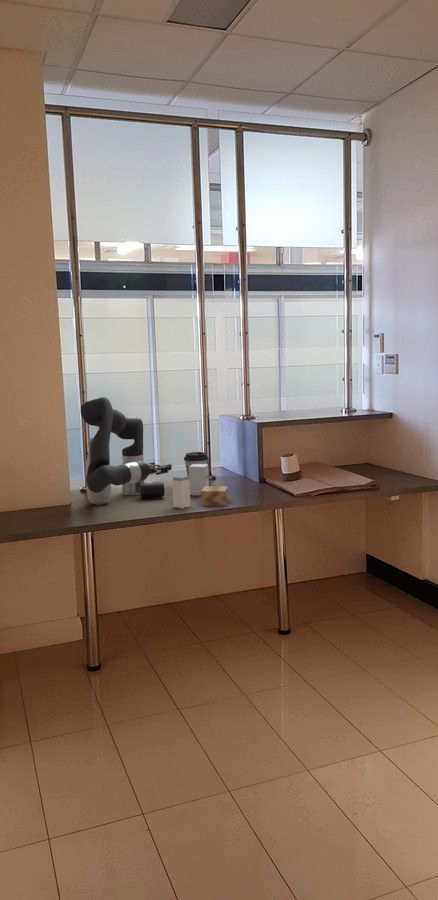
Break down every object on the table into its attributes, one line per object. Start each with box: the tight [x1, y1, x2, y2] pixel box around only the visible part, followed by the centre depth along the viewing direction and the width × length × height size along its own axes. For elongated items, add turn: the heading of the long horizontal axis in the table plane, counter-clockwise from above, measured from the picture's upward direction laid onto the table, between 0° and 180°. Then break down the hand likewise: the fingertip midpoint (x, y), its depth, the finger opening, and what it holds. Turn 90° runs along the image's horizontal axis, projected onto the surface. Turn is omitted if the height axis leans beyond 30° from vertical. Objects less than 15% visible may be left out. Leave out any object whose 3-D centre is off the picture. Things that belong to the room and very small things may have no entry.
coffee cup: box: [183, 451, 209, 476], centre depth 324 cm, size 11×11×15 cm
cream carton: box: [172, 474, 191, 509], centre depth 284 cm, size 5×5×12 cm
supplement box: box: [189, 463, 210, 496], centre depth 307 cm, size 7×7×13 cm
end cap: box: [139, 481, 166, 500], centre depth 301 cm, size 10×7×7 cm
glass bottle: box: [84, 437, 112, 506], centre depth 291 cm, size 10×10×28 cm
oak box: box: [200, 485, 229, 506], centre depth 290 cm, size 10×10×6 cm
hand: (162, 466), depth 274 cm, fingers open, 8 cm apart
